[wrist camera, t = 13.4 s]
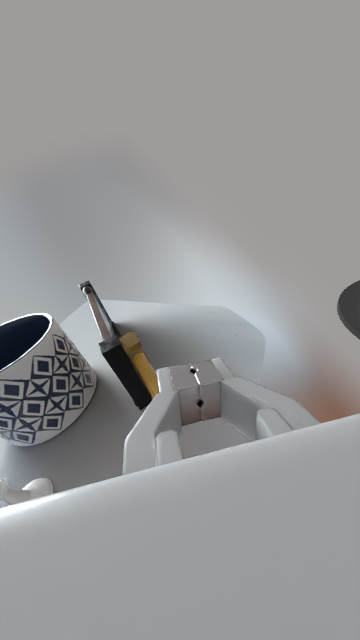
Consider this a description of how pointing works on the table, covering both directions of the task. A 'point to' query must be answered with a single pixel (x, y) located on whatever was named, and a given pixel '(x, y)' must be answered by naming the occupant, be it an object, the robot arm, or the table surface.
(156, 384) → the bolt
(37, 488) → the chess piece
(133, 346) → the gate frame
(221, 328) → the table surface
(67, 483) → the table surface
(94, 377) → the planter
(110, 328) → the gate
